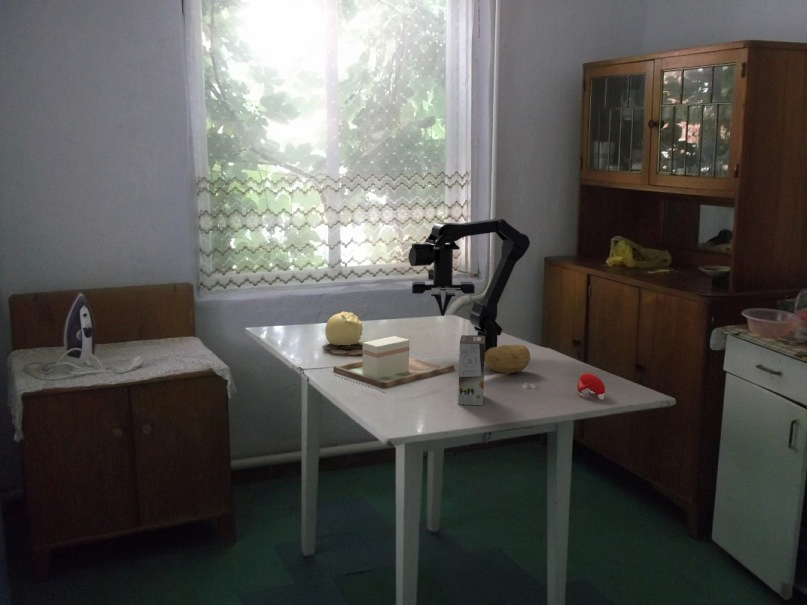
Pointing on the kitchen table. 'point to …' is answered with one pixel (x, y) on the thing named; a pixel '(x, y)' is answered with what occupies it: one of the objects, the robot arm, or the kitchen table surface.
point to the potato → (507, 358)
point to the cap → (590, 384)
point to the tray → (413, 374)
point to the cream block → (385, 357)
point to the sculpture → (343, 329)
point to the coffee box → (471, 370)
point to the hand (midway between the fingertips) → (442, 315)
